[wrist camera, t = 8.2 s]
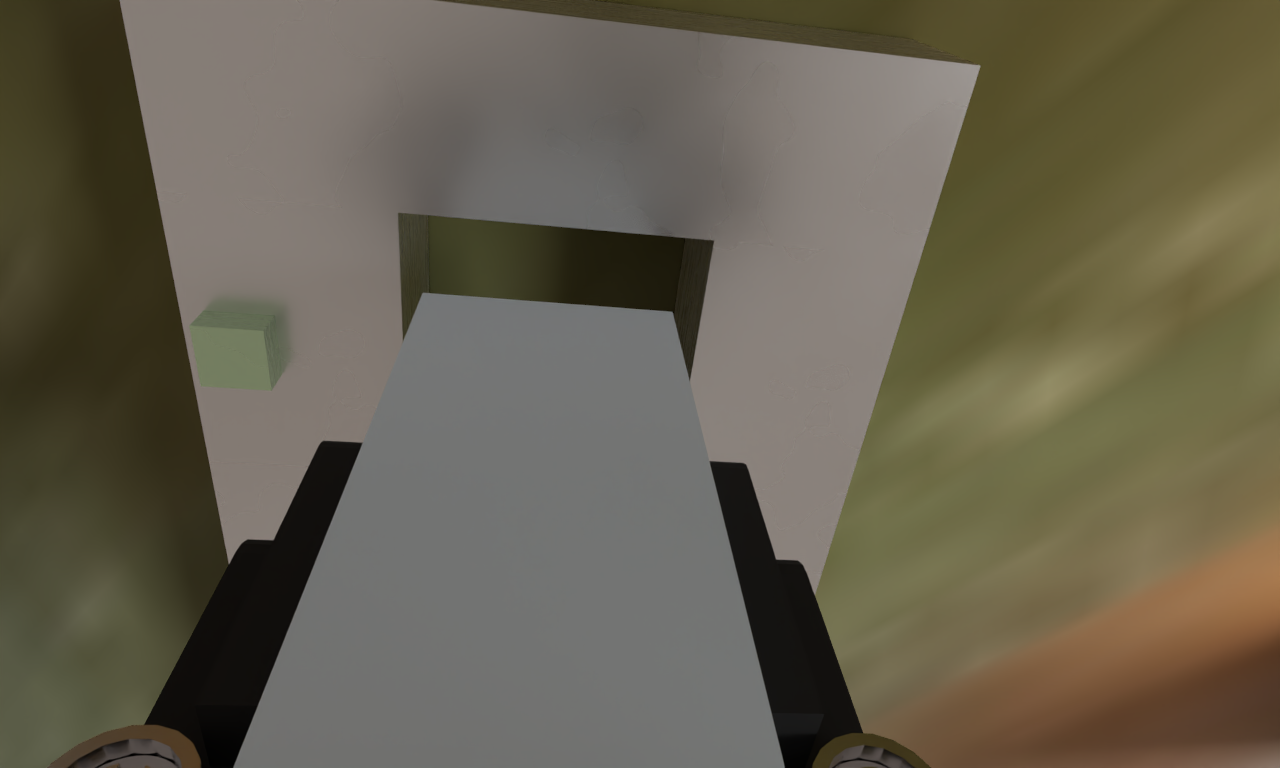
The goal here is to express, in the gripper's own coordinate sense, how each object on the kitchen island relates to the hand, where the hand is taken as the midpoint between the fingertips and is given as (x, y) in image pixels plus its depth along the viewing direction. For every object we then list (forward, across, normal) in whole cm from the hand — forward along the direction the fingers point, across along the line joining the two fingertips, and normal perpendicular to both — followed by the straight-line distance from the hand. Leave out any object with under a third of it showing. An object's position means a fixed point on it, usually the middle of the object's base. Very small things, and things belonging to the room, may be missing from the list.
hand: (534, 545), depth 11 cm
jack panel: (+8, 0, +6) cm, 10 cm away
